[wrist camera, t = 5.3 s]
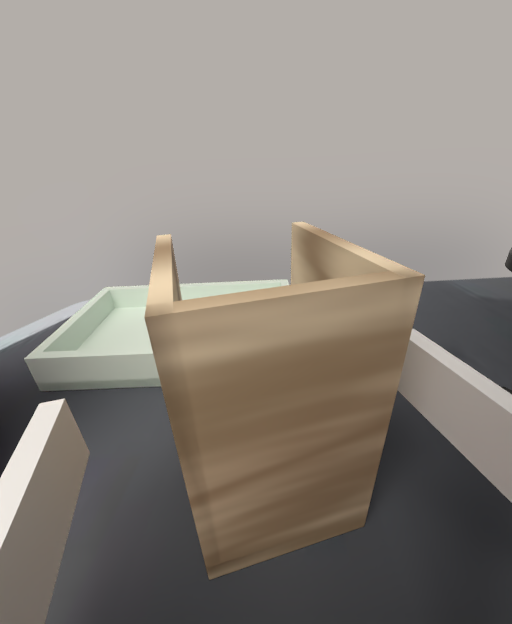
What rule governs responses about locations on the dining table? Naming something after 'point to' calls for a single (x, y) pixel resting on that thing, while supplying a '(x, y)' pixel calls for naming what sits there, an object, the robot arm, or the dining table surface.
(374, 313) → the tall wooden crate
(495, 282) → the dining table surface
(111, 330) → the tray
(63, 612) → the dining table surface
